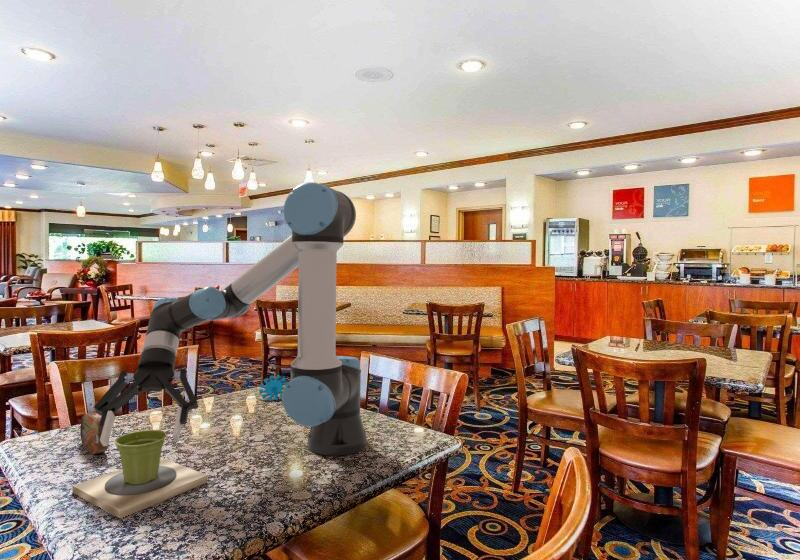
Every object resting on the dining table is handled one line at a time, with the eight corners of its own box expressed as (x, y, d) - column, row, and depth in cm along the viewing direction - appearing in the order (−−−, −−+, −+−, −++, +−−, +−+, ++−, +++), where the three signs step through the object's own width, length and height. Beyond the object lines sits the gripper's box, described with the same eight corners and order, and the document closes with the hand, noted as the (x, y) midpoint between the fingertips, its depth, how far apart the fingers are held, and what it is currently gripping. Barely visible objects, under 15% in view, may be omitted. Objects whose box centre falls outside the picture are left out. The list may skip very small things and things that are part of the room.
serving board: (207, 482, 101) (207, 473, 101) (119, 519, 86) (119, 509, 86) (158, 462, 111) (158, 454, 111) (72, 492, 96) (72, 484, 96)
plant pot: (118, 473, 101) (118, 432, 101) (167, 466, 105) (167, 427, 105) (111, 492, 93) (111, 448, 92) (165, 484, 96) (165, 442, 96)
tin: (79, 442, 123) (79, 410, 123) (93, 439, 125) (93, 407, 125) (96, 459, 113) (96, 423, 112) (111, 455, 115) (111, 420, 115)
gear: (253, 396, 162) (265, 371, 169) (257, 404, 167) (268, 380, 173) (284, 402, 161) (294, 377, 168) (287, 410, 165) (297, 385, 172)
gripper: (216, 362, 118) (206, 444, 104) (104, 365, 113) (78, 453, 99) (213, 344, 113) (202, 428, 99) (95, 347, 107) (65, 437, 93)
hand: (140, 441), depth 99 cm, fingers open, 13 cm apart
